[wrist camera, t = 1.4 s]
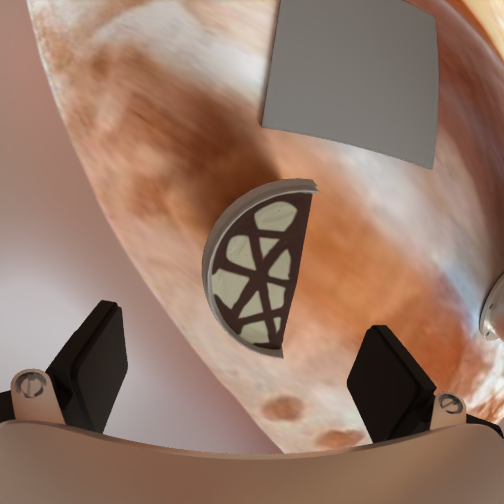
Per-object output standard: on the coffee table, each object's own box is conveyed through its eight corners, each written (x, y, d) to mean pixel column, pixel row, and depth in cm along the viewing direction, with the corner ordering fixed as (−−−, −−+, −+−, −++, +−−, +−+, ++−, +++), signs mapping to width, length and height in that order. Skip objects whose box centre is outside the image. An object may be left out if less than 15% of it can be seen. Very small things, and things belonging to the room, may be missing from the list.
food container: (220, 164, 24) (209, 165, 15) (289, 174, 25) (321, 181, 15) (206, 293, 28) (192, 356, 18) (268, 300, 28) (281, 364, 19)
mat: (432, 18, 19) (434, 17, 18) (429, 169, 25) (432, 169, 24) (286, -34, 17) (287, -37, 17) (261, 127, 23) (262, 126, 23)
